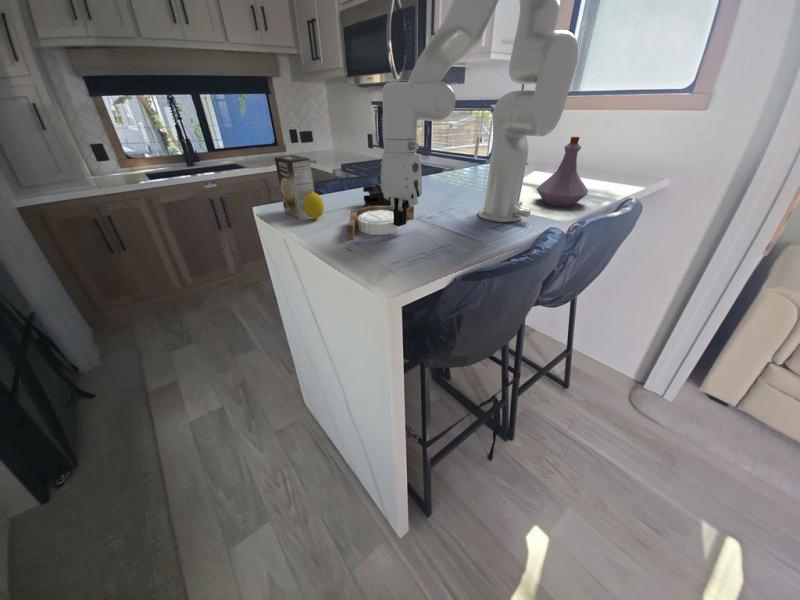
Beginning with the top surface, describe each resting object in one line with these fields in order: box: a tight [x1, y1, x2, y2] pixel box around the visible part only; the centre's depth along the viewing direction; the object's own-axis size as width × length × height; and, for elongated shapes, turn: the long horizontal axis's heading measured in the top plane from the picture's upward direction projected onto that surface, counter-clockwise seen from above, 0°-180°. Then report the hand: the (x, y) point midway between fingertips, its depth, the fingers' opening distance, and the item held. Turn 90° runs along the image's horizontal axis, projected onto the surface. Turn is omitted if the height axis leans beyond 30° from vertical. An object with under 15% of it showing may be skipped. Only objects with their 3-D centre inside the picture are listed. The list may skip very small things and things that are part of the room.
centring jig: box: [347, 205, 415, 240], centre depth 91 cm, size 10×24×4 cm, turn 136°
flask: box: [536, 136, 589, 208], centre depth 105 cm, size 16×16×20 cm
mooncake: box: [357, 210, 403, 236], centre depth 89 cm, size 12×12×4 cm
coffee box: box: [274, 154, 315, 220], centre depth 96 cm, size 9×6×16 cm
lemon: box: [304, 191, 325, 220], centre depth 93 cm, size 6×6×8 cm
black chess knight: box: [362, 182, 391, 207], centre depth 104 cm, size 10×7×7 cm
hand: (400, 224), depth 84 cm, fingers closed
